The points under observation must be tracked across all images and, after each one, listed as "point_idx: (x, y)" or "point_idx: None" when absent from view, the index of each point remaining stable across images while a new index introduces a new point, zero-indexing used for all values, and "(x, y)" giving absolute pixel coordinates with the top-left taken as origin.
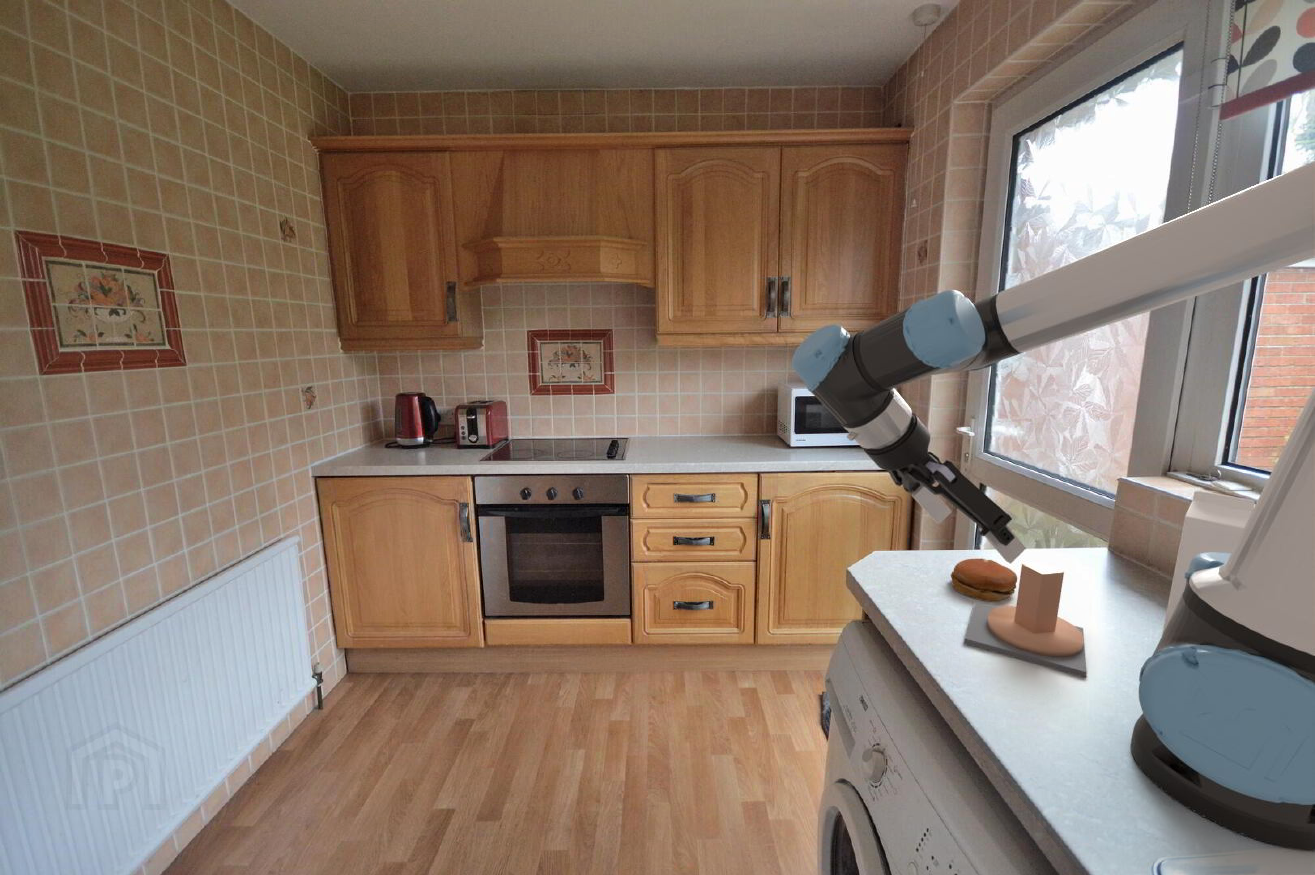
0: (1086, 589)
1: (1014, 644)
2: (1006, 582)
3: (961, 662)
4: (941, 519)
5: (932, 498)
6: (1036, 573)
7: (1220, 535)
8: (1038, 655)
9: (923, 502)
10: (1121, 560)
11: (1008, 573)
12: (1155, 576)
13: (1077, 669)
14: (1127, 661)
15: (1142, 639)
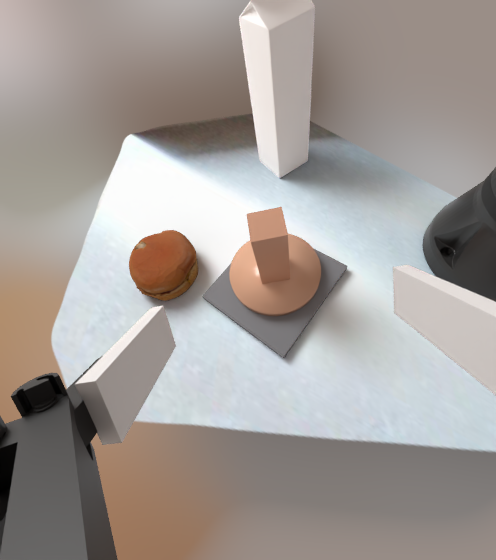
0: (190, 182)
1: (301, 307)
2: (191, 250)
3: (325, 386)
4: (170, 337)
5: (137, 360)
6: (278, 238)
7: (298, 35)
8: (319, 293)
9: (140, 395)
10: (150, 134)
11: (177, 239)
12: (181, 129)
13: (342, 271)
14: (314, 220)
15: (278, 190)
